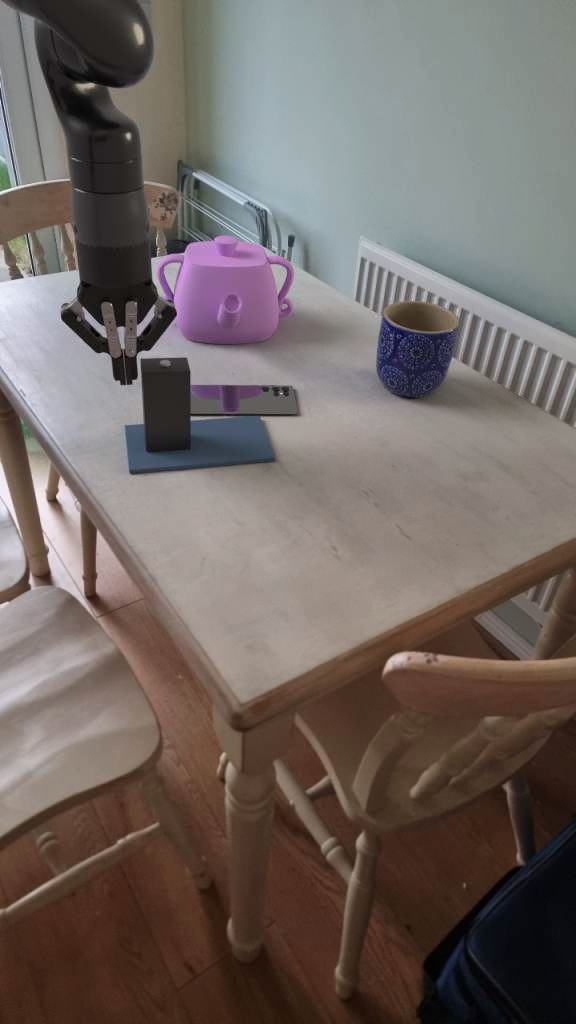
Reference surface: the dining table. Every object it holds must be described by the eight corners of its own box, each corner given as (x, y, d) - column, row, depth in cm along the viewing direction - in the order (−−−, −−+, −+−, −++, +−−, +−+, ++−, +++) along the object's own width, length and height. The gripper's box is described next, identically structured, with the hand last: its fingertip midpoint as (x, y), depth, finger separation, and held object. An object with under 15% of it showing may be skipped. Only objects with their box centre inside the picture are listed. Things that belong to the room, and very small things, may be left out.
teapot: (230, 293, 127) (230, 211, 118) (314, 332, 117) (321, 246, 107) (145, 321, 116) (139, 234, 107) (230, 367, 106) (230, 274, 96)
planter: (401, 362, 110) (414, 294, 103) (458, 389, 105) (475, 319, 97) (356, 383, 104) (366, 312, 97) (414, 413, 98) (429, 340, 91)
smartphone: (182, 384, 100) (292, 383, 101) (182, 387, 100) (292, 387, 102) (180, 412, 94) (297, 411, 96) (181, 416, 94) (297, 414, 96)
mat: (129, 474, 84) (129, 470, 83) (125, 428, 91) (124, 425, 91) (274, 461, 87) (275, 457, 87) (259, 419, 95) (259, 415, 94)
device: (146, 452, 86) (142, 370, 79) (144, 436, 89) (140, 356, 82) (190, 449, 87) (190, 368, 80) (187, 434, 90) (186, 354, 83)
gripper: (173, 218, 75) (178, 363, 86) (45, 219, 72) (67, 369, 83) (181, 243, 69) (186, 394, 80) (43, 244, 66) (67, 401, 77)
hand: (125, 381), depth 82 cm, fingers closed
